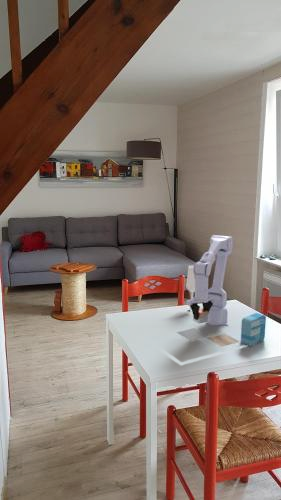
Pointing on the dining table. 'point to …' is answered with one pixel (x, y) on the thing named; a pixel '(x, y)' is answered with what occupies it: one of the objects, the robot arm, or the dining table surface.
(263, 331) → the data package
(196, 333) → the slate stand
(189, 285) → the champagne flute
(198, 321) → the orange-brown cube
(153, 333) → the dining table surface
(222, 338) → the walnut stand
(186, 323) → the dining table surface
